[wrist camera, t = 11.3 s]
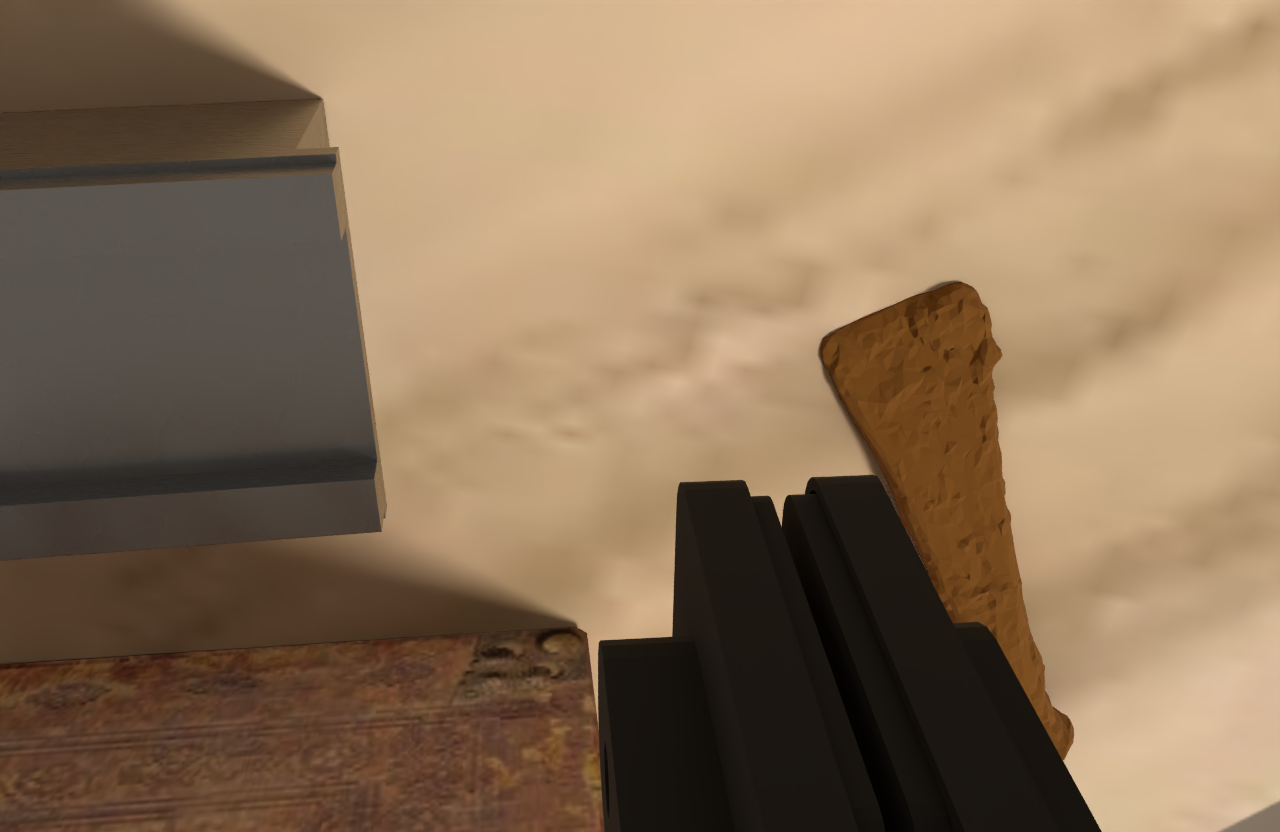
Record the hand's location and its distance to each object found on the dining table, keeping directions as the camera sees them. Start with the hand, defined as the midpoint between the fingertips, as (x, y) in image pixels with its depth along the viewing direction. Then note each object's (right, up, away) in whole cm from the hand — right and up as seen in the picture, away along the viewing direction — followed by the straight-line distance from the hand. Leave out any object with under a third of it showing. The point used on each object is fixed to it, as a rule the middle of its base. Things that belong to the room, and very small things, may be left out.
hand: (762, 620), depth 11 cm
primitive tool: (+10, -2, +33) cm, 34 cm away
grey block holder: (-17, +6, +25) cm, 30 cm away
